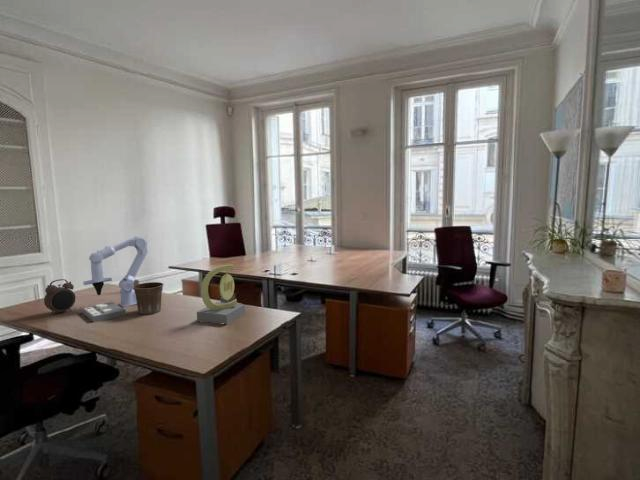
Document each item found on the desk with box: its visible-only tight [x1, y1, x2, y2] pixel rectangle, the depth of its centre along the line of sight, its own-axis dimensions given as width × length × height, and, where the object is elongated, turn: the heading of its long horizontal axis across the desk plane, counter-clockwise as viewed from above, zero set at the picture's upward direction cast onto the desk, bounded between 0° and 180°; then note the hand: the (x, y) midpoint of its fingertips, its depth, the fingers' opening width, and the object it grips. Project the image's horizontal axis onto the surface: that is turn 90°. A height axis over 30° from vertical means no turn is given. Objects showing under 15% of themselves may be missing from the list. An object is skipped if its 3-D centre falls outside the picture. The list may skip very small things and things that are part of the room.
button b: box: [99, 303, 108, 311], centre depth 201 cm, size 4×4×3 cm
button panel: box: [81, 301, 127, 323], centre depth 201 cm, size 16×24×3 cm, turn 47°
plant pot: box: [133, 281, 164, 315], centre depth 205 cm, size 16×16×16 cm
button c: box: [102, 309, 112, 313], centre depth 197 cm, size 4×4×3 cm
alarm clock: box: [43, 278, 76, 316], centre depth 204 cm, size 14×7×20 cm, turn 151°
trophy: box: [196, 264, 246, 325], centre depth 192 cm, size 19×19×30 cm
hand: (98, 294), depth 209 cm, fingers closed
